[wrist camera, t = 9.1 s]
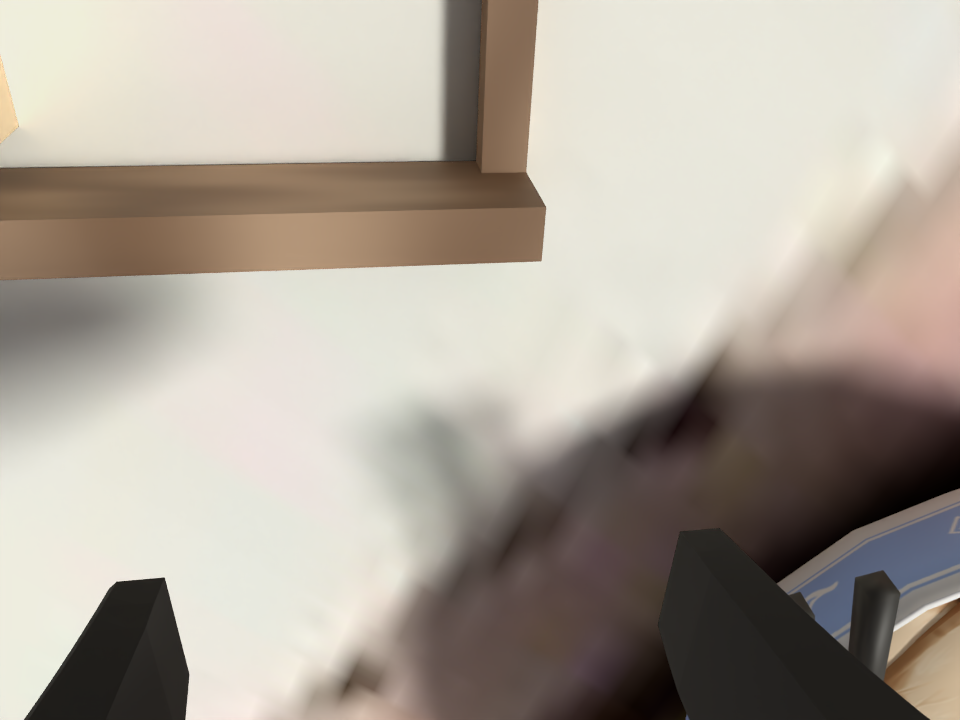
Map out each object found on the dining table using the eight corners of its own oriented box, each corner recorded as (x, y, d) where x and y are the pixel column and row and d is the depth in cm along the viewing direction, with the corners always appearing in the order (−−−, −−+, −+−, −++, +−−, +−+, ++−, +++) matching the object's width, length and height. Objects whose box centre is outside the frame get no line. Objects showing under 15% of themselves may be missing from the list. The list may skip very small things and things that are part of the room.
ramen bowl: (1097, 707, 37) (1267, 901, 30) (620, 834, 37) (685, 1059, 30) (1303, 220, 23) (1706, 381, 16) (535, 418, 23) (621, 666, 16)
